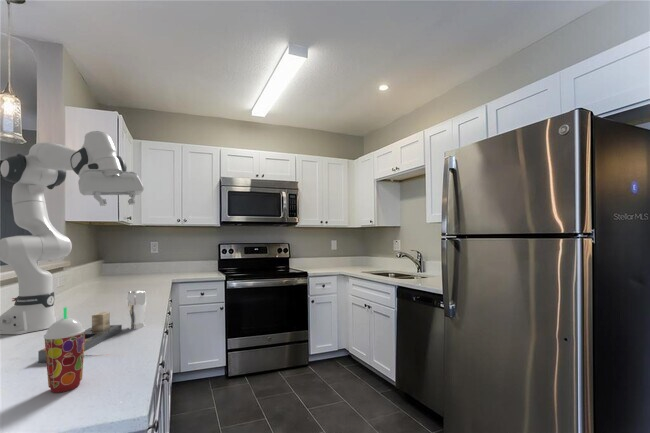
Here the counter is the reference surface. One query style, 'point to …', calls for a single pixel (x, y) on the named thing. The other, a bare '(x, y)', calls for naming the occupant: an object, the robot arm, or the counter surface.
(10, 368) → the counter surface
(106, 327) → the beech peg
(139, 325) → the beer glass
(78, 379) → the smoothie
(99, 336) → the socket rail
